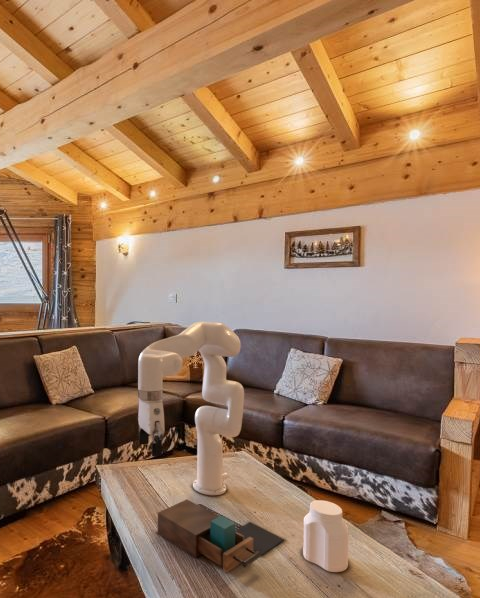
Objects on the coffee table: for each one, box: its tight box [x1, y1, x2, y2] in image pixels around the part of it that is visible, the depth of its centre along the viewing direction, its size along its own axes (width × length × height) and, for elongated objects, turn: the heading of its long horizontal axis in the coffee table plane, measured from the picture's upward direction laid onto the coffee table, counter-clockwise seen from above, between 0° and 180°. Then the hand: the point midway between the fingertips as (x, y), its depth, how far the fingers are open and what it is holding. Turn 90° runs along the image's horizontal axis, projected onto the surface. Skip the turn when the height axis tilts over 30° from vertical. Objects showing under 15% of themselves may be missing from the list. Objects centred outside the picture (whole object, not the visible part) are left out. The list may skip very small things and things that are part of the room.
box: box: [210, 515, 236, 556], centre depth 122 cm, size 5×5×8 cm
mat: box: [235, 521, 285, 557], centre depth 131 cm, size 12×12×1 cm
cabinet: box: [157, 498, 220, 559], centre depth 132 cm, size 16×14×7 cm
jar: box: [302, 499, 350, 573], centre depth 121 cm, size 12×10×15 cm
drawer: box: [198, 530, 262, 573], centre depth 122 cm, size 19×12×5 cm, turn 38°
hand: (150, 449), depth 131 cm, fingers open, 9 cm apart
